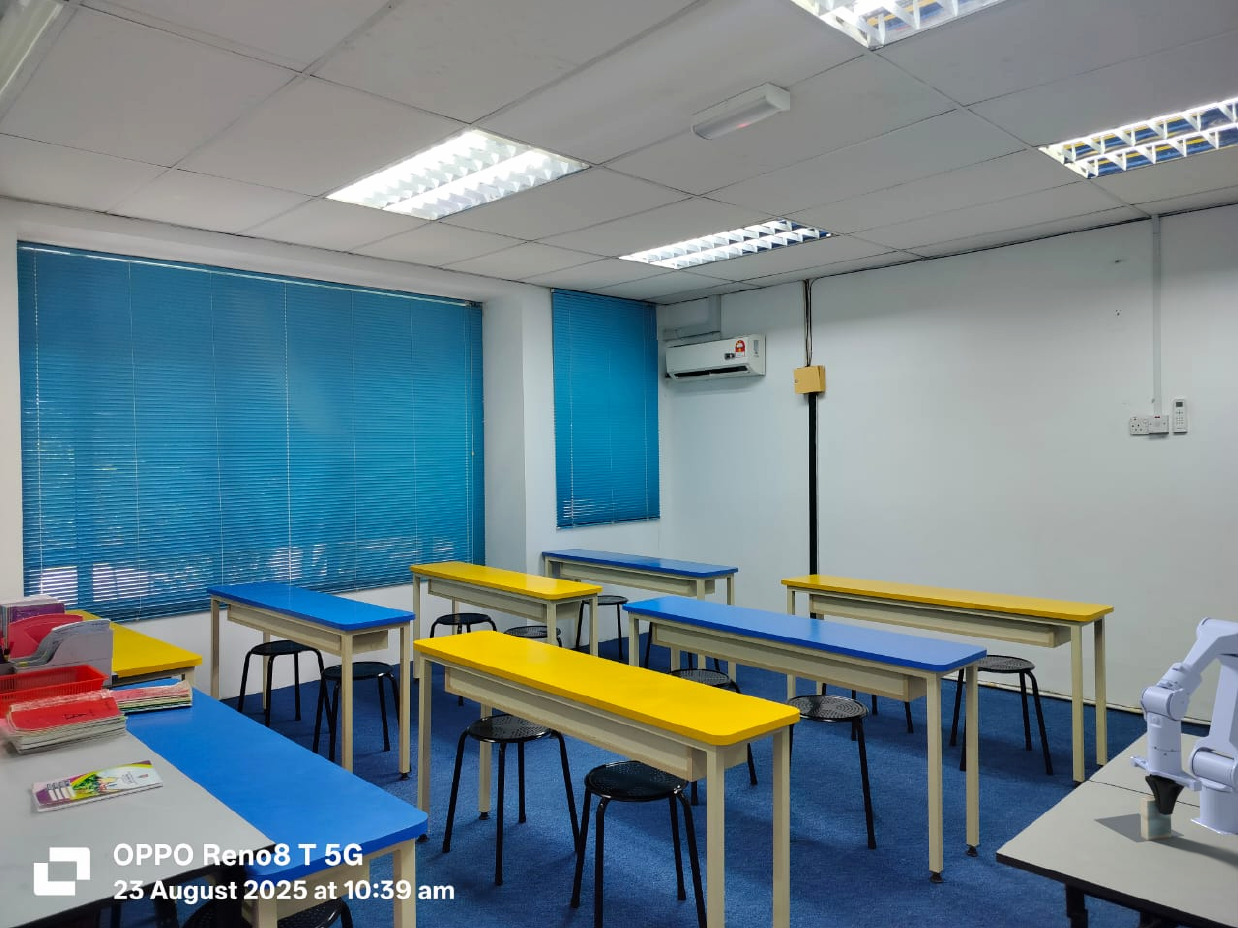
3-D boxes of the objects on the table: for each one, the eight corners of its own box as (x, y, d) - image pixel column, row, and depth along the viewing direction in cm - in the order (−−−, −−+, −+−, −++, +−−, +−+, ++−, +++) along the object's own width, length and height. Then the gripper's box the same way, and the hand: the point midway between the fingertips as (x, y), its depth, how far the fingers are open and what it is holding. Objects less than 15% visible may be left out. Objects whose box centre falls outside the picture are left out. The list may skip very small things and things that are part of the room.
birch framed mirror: (1164, 832, 167) (1163, 794, 167) (1172, 836, 166) (1171, 798, 166) (1141, 836, 166) (1140, 797, 166) (1148, 840, 164) (1147, 801, 164)
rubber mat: (1138, 814, 177) (1138, 813, 177) (1184, 836, 166) (1184, 835, 166) (1093, 821, 174) (1093, 819, 174) (1136, 844, 164) (1136, 842, 164)
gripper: (1118, 737, 170) (1119, 800, 170) (1181, 761, 156) (1182, 830, 156) (1145, 734, 172) (1146, 797, 171) (1209, 757, 157) (1211, 826, 157)
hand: (1165, 813), depth 164 cm, fingers closed
